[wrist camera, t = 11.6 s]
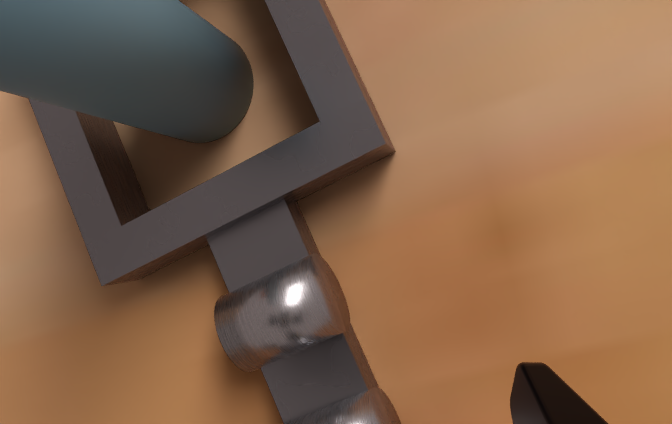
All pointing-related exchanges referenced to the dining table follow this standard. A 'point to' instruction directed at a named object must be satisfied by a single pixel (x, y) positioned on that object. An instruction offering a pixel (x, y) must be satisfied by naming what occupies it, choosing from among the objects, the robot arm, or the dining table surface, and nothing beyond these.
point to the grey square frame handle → (249, 228)
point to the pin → (127, 64)
